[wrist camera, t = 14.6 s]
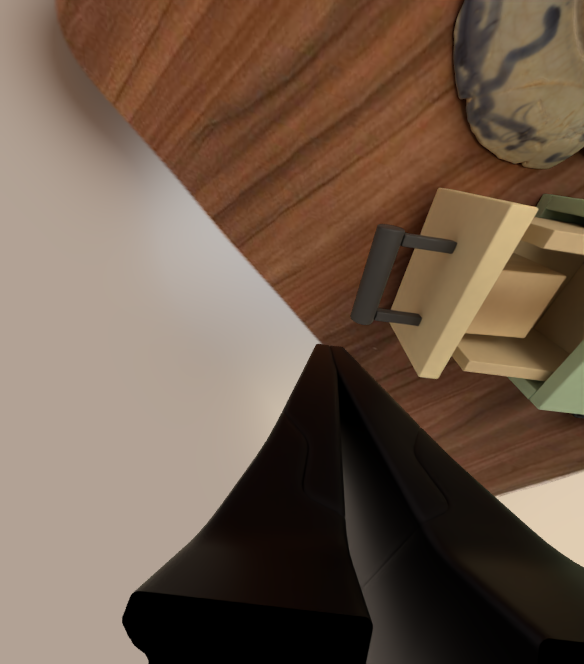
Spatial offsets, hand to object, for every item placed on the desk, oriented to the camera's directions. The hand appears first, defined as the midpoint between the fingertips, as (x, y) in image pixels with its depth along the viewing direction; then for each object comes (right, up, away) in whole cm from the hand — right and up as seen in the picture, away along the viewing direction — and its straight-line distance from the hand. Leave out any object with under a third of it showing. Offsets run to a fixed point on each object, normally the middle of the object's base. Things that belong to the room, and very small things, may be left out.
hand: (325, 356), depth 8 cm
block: (+11, +4, +10) cm, 16 cm away
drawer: (+11, +5, +11) cm, 16 cm away
